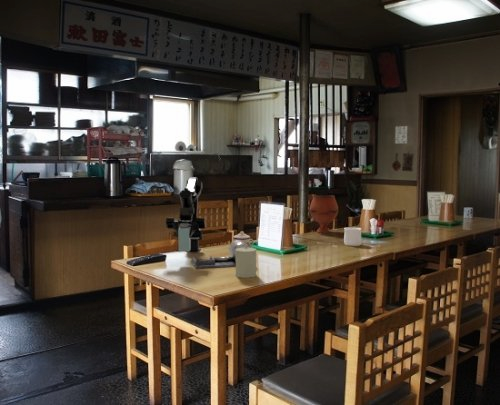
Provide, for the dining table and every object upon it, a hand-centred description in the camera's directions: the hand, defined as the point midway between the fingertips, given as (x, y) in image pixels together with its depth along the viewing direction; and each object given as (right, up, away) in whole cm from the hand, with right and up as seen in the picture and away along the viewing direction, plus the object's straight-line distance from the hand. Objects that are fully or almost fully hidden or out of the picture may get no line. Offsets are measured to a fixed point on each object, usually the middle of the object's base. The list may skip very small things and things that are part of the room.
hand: (184, 237), depth 230 cm
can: (+29, -16, -17) cm, 38 cm away
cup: (+92, -9, +55) cm, 107 cm away
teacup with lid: (+28, -11, +30) cm, 43 cm away
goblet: (+82, -4, +101) cm, 130 cm away
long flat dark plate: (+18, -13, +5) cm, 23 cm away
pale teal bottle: (0, -6, +2) cm, 7 cm away
